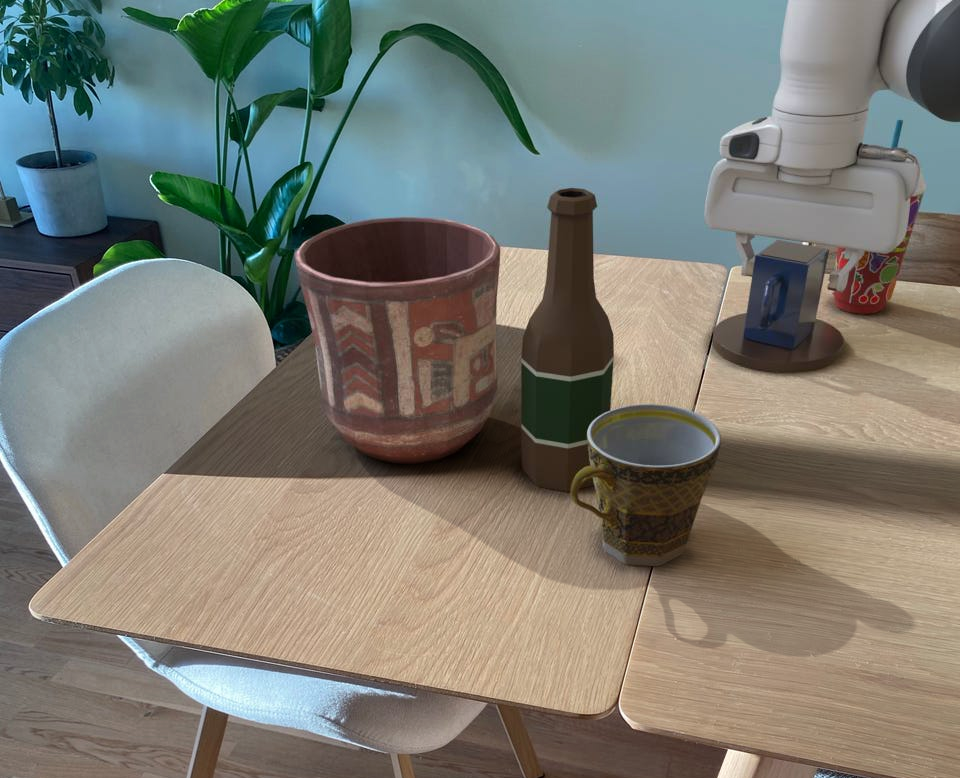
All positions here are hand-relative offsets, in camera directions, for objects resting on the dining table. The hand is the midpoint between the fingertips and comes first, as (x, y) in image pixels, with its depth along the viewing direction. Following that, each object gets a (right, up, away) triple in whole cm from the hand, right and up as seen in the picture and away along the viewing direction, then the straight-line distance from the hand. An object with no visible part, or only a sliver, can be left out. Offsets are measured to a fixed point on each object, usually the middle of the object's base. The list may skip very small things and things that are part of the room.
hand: (792, 282), depth 104 cm
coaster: (0, -5, +5) cm, 7 cm away
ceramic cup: (-21, -31, -24) cm, 45 cm away
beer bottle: (-26, -23, -15) cm, 37 cm away
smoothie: (+12, +2, +13) cm, 18 cm away
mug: (-1, -5, +3) cm, 6 cm away
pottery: (-40, -18, -9) cm, 45 cm away
